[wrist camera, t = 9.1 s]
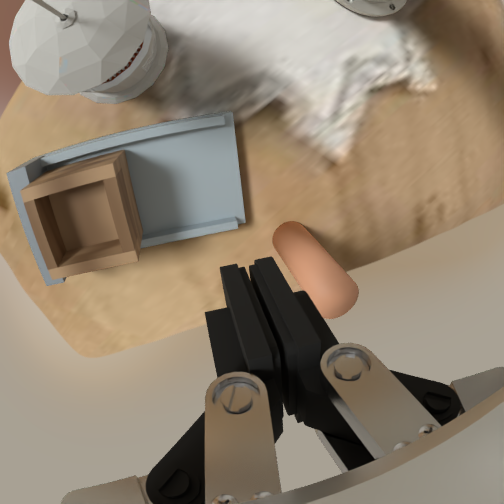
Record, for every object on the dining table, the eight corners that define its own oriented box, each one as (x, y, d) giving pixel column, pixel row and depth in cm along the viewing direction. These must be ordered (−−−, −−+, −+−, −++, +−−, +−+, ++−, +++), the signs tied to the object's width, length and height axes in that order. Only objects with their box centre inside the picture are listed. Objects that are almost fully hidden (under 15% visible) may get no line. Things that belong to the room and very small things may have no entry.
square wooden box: (124, 149, 26) (112, 163, 21) (143, 230, 30) (138, 261, 24) (46, 171, 25) (19, 190, 19) (69, 247, 29) (52, 280, 23)
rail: (229, 111, 28) (243, 115, 23) (242, 217, 34) (256, 242, 28) (32, 158, 25) (6, 173, 20) (62, 255, 30) (46, 285, 25)
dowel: (305, 218, 36) (360, 273, 25) (306, 250, 37) (356, 311, 27) (271, 225, 35) (315, 285, 25) (273, 257, 37) (315, 323, 27)
